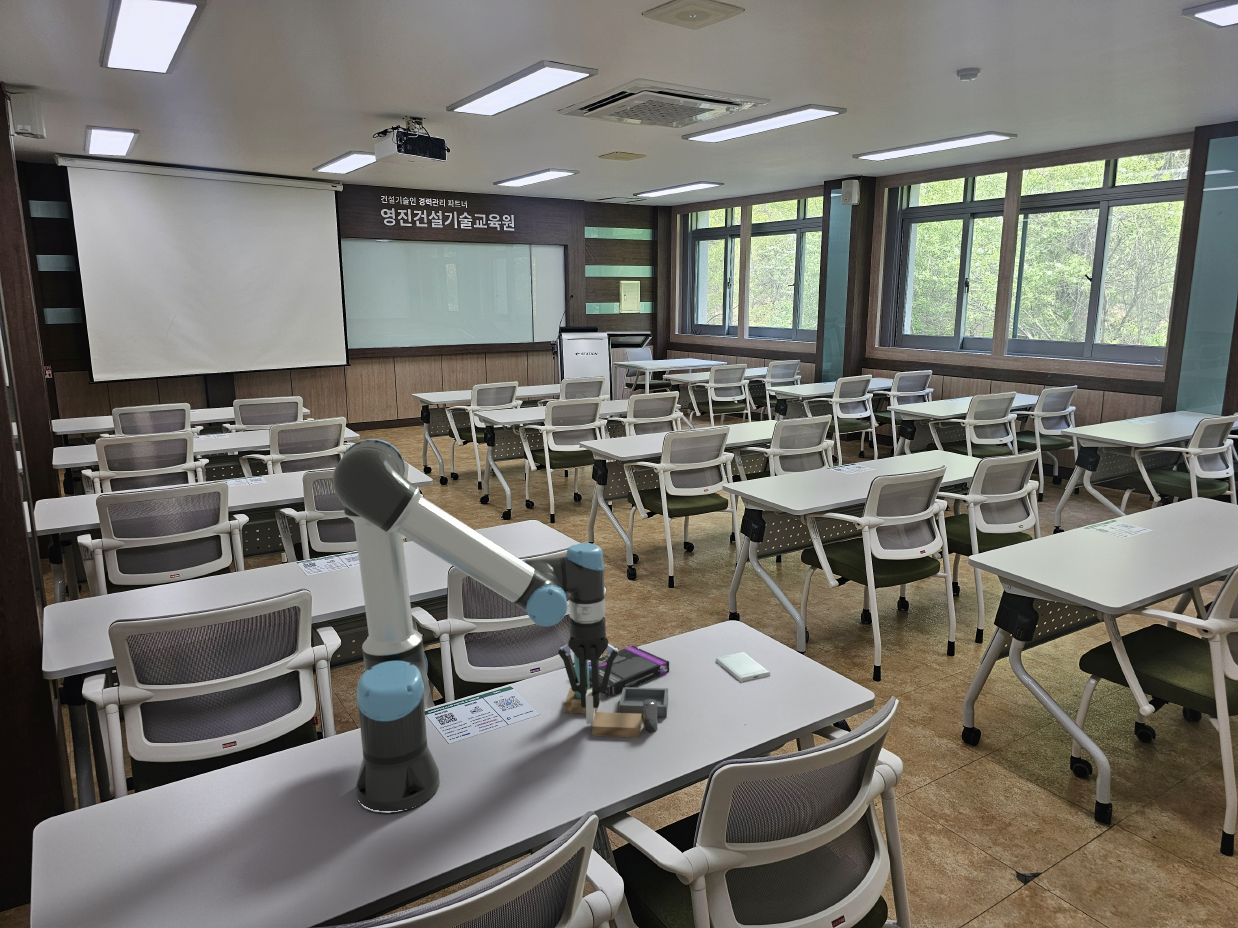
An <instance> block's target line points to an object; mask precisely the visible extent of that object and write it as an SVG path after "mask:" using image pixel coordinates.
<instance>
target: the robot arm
mask: <svg viewBox="0 0 1238 928" xmlns="http://www.w3.org/2000/svg"><path fill="white" fill-rule="evenodd" d="M405 471H406V465H405V461H404V458H403V457H402V454H401V453H400V451H399V450H398V449H397V448H396V447H395V445H393V444H391V443H390V442H388V441H385V440H382V439H378V438H367V439H363V440H360V441H358V442H355V443H352V445H351V446H349V447H348V448H347V449H346V450H345V452H344V453H343V454H342V457H341V458H340V459H339V461H338V462H337V464H336V465H335V468H334V470H333V474H332V484H333V485H332V486H333V491H334V493H335V495H336V496H337V499H338V500H339V501H340V502H341V504H342V506H343V510H344V511H343V512H344V516H345V517H347V518H348V519H350V520H351V521H352V522H353V523H354V524H353V525H354V530H355V531H354V532H355V539H356V540H355V541H356V546H357V547H356V548H357V554H358V561H359V570H360V576H361V586H362V592H363V600H364V608H365V609H364V610H365V616H366V623H367V632H368V637H367V638H366V639H365V641H364V642H362V646H361V647H362V648H361V649H362V657H363V664H364V672H363V673H362V674H361V676H360V677H359V679H358V681H357V684H356V685H357V686H356V696H355V698H356V703H357V707H358V717H359V724H360V725H359V726H360V727H359V728H360V736H361V746H362V760H361V765H360V769H359V772H358V776H357V781H356V787H355V788H356V789H355V790H356V791H355V792H356V797H357V798H358V800H359V801H360V803H361V804H363V805H364V806H366V807H368V808H370V809H373V810H379V811H398V810H405V809H410V808H412V807H415V806H417V807H419V806H421V805H423V804H425V803H426V802H428V801H429V800H430V799H431V798H432V797H434V796H435V794H436V793H437V792H438V790H439V788H440V785H439V784H440V782H441V780H440V779H441V778H440V771H439V767H438V765H437V764H436V763H437V762H436V761H435V759H434V757H433V755H432V752H431V750H430V749H429V746H428V737H427V724H426V711H425V709H426V707H425V701H426V687H427V676H428V675H427V674H428V669H429V668H428V667H429V666H428V665H429V664H428V659H427V657H426V653H425V651H424V643H423V635H422V634H421V633H420V632H419V631H417V630H416V629H415V628H414V622H413V616H412V608H411V600H410V592H409V591H410V590H409V589H410V588H409V582H408V573H407V567H406V566H407V563H406V557H405V548H404V540H403V537H405V538H407V539H408V540H410V541H412V542H413V543H414V544H417V545H418V546H420V547H422V548H423V549H425V550H426V551H428V552H429V553H431V554H433V555H434V556H436V557H437V558H439V559H440V560H442V561H444V562H445V563H447V564H448V565H450V566H452V567H454V568H456V569H457V570H459V571H460V572H462V573H463V574H465V575H467V576H469V577H470V578H472V579H474V580H475V581H477V582H479V583H480V584H481V585H483V586H485V587H486V588H487V589H490V590H491V591H493V592H495V593H496V594H497V595H500V596H501V597H503V598H505V599H506V600H507V601H508V602H510V603H512V604H514V605H515V606H517V607H518V608H520V609H522V610H523V611H525V612H526V614H527V616H528V617H529V618H530V620H531V621H532V622H533V623H534V624H535V625H538V626H540V627H547V628H548V627H552V626H556V625H557V624H559V623H561V621H562V620H563V619H564V618H565V616H566V614H567V611H569V612H568V613H569V617H570V619H569V636H570V637H569V639H568V641H567V643H566V644H565V645H563V644H562V645H560V646H559V649H558V655H559V657H560V658H561V660H562V661H563V664H564V668H565V671H566V674H567V677H568V680H569V684H570V685H569V686H570V688H572V691H573V692H576V691H577V692H579V693H580V694H581V706H582V708H586V713H585V714H586V715H585V716H586V718H585V719H586V724H587V725H588V724H590V725H592V724H593V721H594V717H595V708H599V706H600V701H601V699H600V700H599V693H600V694H603V693H604V692H606V689H607V686H608V681H609V677H610V673H611V668H612V664H613V661H614V659H615V658H616V656H617V655H618V651H620V649H619V647H618V646H617V645H616V646H613V645H611V644H610V643H609V640H608V638H607V633H606V628H607V627H606V626H607V625H606V617H605V615H606V597H605V564H604V555H603V549H602V548H601V547H600V546H599V545H598V544H595V543H590V542H589V543H586V542H583V543H580V542H579V543H577V544H573V545H570V546H569V547H568V548H567V549H566V555H565V556H560V557H550V558H549V557H548V558H537V559H524V560H522V559H520V558H519V557H517V556H516V555H515V554H513V553H511V552H510V551H509V550H507V549H505V548H503V547H501V546H500V545H499V544H497V543H496V542H494V541H492V540H491V539H489V538H488V537H486V536H485V535H483V534H481V533H480V532H478V531H476V530H475V529H474V528H472V527H470V526H469V525H467V524H466V523H465V522H463V521H461V520H459V519H458V518H456V517H455V516H453V515H452V514H450V513H449V512H447V511H445V510H443V509H442V508H441V507H439V506H438V505H437V504H434V503H433V502H431V501H430V500H428V499H426V498H425V497H423V496H422V495H421V492H420V488H419V487H418V486H417V485H415V484H414V483H412V482H411V481H409V480H408V479H407V478H406V477H405ZM567 594H568V601H567ZM605 651H606V655H607V656H608V660H607V664H606V668H605V673H604V677H603V681H602V684H600V685H599V658H601V657H602V656H603V654H604V653H605ZM571 653H573V655H574V654H575V655H576V656H577V657H578V658H579V670H580V684H579V681H578V678H577V675H576V671H575V668H574V660H573V658H572V655H571ZM587 660H588V661H590V662H591V669H592V687H591V688H592V690H587V688H588V685H587ZM601 692H603V693H601ZM438 787H439V788H438ZM437 789H438V790H437ZM436 791H437V792H436ZM435 792H436V793H435ZM434 793H435V794H434ZM357 798H356V799H357ZM428 799H429V800H428ZM358 800H357V801H358ZM427 800H428V801H427ZM425 801H426V802H425ZM424 802H425V803H424ZM422 803H423V804H422ZM420 804H421V805H420ZM418 805H419V806H418ZM415 808H416V807H415ZM412 809H413V808H412ZM410 810H411V809H410Z"/></svg>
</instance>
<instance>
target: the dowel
mask: <svg viewBox="0 0 1238 928" xmlns="http://www.w3.org/2000/svg"><path fill="white" fill-rule="evenodd" d="M573 658H574V659H573V664H574V668H575V671H576V675H577V678H578V681H579V684H580V670H579V658H578V657H577V656H576V655H575V654H574V653H573ZM589 662H590V661H589V660H587V685H588V688H587V690H589V688H590V686H589ZM575 694H576V699H579V700H581V694H580V693H579V692H577V691H576V692H575Z"/></svg>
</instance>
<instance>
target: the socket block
mask: <svg viewBox="0 0 1238 928" xmlns="http://www.w3.org/2000/svg"><path fill="white" fill-rule="evenodd" d="M589 690H592V687H589ZM599 700H600V701H601V693H599ZM598 708H599V707H598ZM598 708H595V714H596V712H598ZM564 713H566V714H586V708H582V706H581V700H579V699H576V694H575V692H573V691H572V688H571V687H569V690H568V692H567V694H566V698H565V700H564Z"/></svg>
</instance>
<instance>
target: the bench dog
mask: <svg viewBox="0 0 1238 928" xmlns="http://www.w3.org/2000/svg"><path fill="white" fill-rule="evenodd" d="M642 718H643V719H642V721H643V722H642V723H643V724H642V726H643V731H645V732H647V733H654V732H657V731H658V717H657V701H656V700H653V699H647V700H645V701H643V717H642Z"/></svg>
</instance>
